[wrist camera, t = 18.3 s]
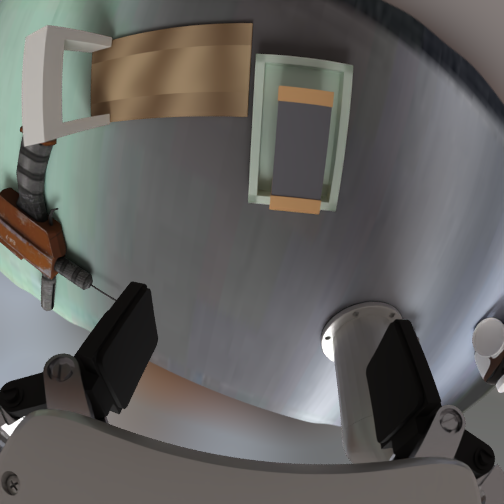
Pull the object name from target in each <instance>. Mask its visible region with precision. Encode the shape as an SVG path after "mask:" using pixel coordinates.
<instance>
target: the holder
mask: <svg viewBox="0 0 504 504" xmlns="http://www.w3.org/2000/svg"><path fill="white" fill-rule="evenodd" d="M252 32H253V23H226V24H207V25H194V26H185V27H176V28H169V29H162V30H156V31H150V32H145V33H140V34H135V35H130V36H126V37H122V38H118V39H114V40H112V45H111V47H109V48H105V49H101V50H98V51H94V52H92V69H91V117H92V116H98V115H105V114H110V122H116V121H125V120H135V119H146V118H161V117H182V116H235V117H248V102H249V83H250V66H251V49H252Z"/></svg>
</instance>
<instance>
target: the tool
mask: <svg viewBox="0 0 504 504" xmlns="http://www.w3.org/2000/svg"><path fill="white" fill-rule="evenodd" d="M20 132H22V133H23V126H21V128H20ZM55 144H56V139H55V140H52V141H51V140H50V141H47V142H44V143H39V144H34V145H30V146H25V147H24V139H23V137H22V142H21V147H20V152H19V158H18V165H17V172H16V173H17V182H18V190H19V193H18V192H16V191H15V190H14V189H12V188H6V189H4V190H2V191H1V192H0V242H1V243H2V244H3V245H4V246H5V247H7V248H8V249H9V250H10V251H11V252H12V253H14V254H15V255H16V256H17V257H18V258H20V259H21V260H22V259H23V258H24V259H25V260H27V261H28V262H29V263H30V264H32V265H33V266H34V267H36V268H37V269H38V270H39V271H41V272H42V283H41V306H42V308H43V309H44V310H46V311H50V310H52V309H53V307H54V297H55V285H56V275H57V274H58V273H60V274H61V275H63V276H64V277H65V278H67V279H68V280H70V281H71V282H73V283H74V284H76V285H77V286H79V287H80V288H82V289H83V290H84V289H87V288H90V286H92V287H94V288H95V289H97V290H98V291H100V292H102V293H103V294H105V295H106V296H108V297H110V298H111V299H113V300H115V301H116V299H114V298H112V297H111V296H109V295H107V294H106V293H104V292H103V291H101V290H99V289H98V288H96V287H95V286H93V285H92V282H93V280H92V275H91V274H89V273H88V272H86V271H85V270H83V269H82V268H80V267H79V266H77V265H76V264H74V263H73V262H71V261H70V260H68V259H67V258H66V257H65V254H66V244H65V240H64V236H63V231H62V227H61V224H60V223H59V222H58V221H56V220H55V219H54V218H52V216H53V213H54V211H55V210H58V208H56V209H52V210H51V212H50V214H49V215H48V214H47V211H46V207H45V202H44V197H43V191H44V176H45V170H46V167H47V163H48V159H49V156H50V152H51V149H52V146H53V145H55Z"/></svg>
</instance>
